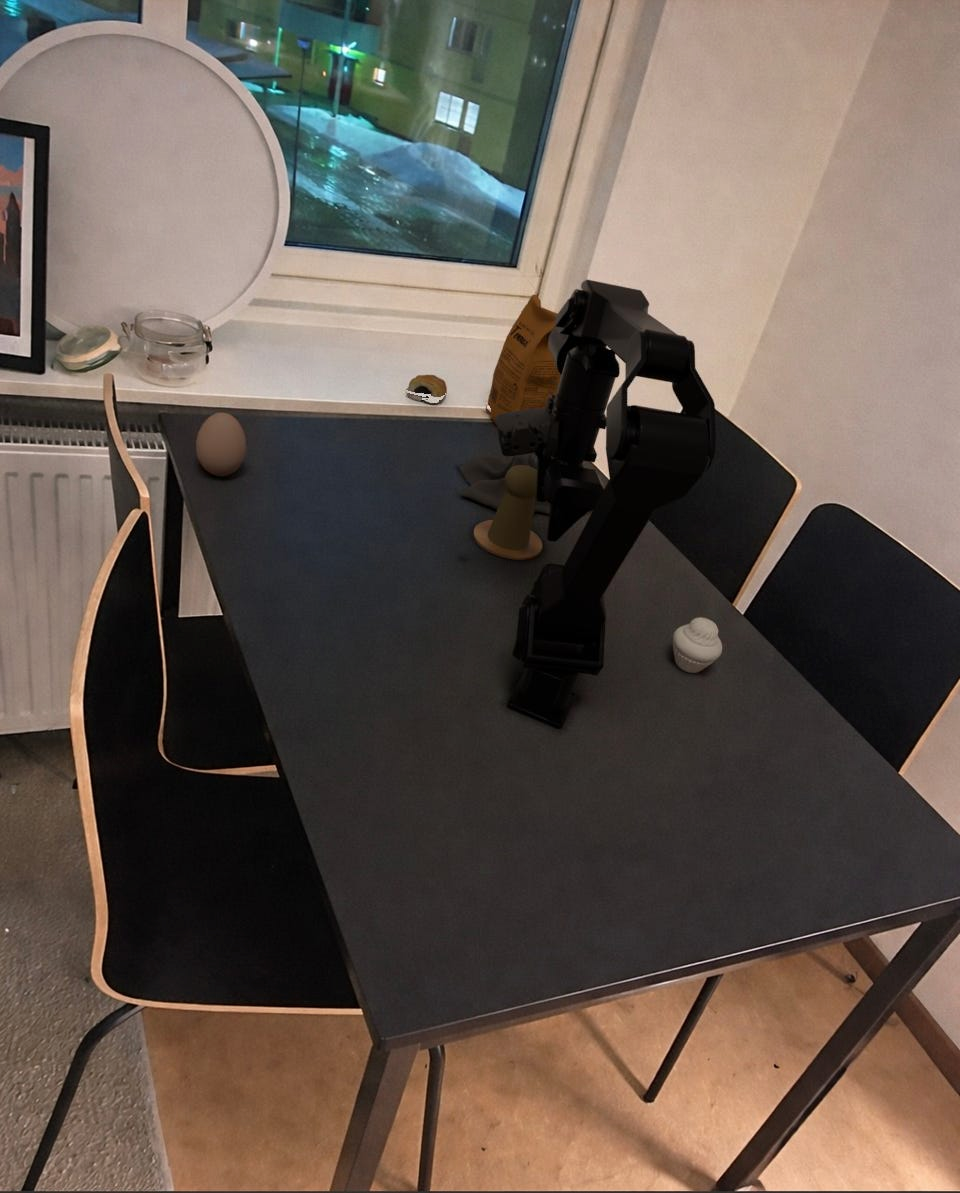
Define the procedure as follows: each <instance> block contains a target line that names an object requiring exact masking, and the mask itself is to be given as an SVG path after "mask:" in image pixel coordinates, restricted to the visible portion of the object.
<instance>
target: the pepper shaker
mask: <svg viewBox="0 0 960 1193" xmlns="http://www.w3.org/2000/svg"><path fill="white" fill-rule="evenodd" d="M505 486H506V490H505V493H504V495H503V498H502V500H501V502H500V505H499V507H498V510H496V512H495V515H494V517H493V519H492V520H493V522H492V524H491V526H490V529H489V531H488V538H489V540H490V541H491V542H492V543H493V544H495V545H497V546H499V547H501V548H504V549H508V550H523V549H525V548H527V546H528V545H529V539H530V531H532V523H533V517H534V516H533V515H534V514H533V509H534V502H535V496H536V491H537V470H536V469H534V468H532V467H529V466H525V465H516V466H513V467H511V468H510V469H509V470H508V471H507V473H506V476H505Z"/></svg>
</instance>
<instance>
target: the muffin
mask: <svg viewBox="0 0 960 1193" xmlns="http://www.w3.org/2000/svg"><path fill="white" fill-rule="evenodd" d="M672 650H673V655H674V662H675V664H676V666H677V667H678V668H679V669H680V670H682V671H684V672H687V673H690V674H696V673H700V672H701V671H703V670H704V669H705V668H706V669H707V667H709V666H710V665H712V664H713V663H715V661H716V660H717V659H719V658H720V656H721V655H722V652H723V643H722V641H721V638H720V637H719V628H718V625H717V624H716V623H715V622H714V621H713V620H710V619H709V618H706V617H701V616H699V617H694V618H693V619H692V620H690V623H687V624H684V625H681V626H679V627H678V628H677V629H676V630H675V631H674V633H673V636H672Z"/></svg>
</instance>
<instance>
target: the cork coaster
mask: <svg viewBox="0 0 960 1193" xmlns="http://www.w3.org/2000/svg"><path fill="white" fill-rule="evenodd" d="M492 522H493V519H487V520H484V521H481V522H479V523H477V524H476V525H475V527H474V529H473V533H472V534H473V538H474V540H475V542H476V543H477V544H478V546H480V548H482V549H483V550H485V551H486V552H488V553H490V554H492V555H494V556H497V557H500V558H503V559H508V560H516V561H524V560H525V561H526V560H530V559H533V558H536V557H537V556H539V555H540V554H541V552H542V550H543V542H542V539H541V538H540V537H539V536H538V535H537V533H536V532H534V531H533V530H531V531H530V539H529V545H528V546H527V548H525V549H523V550H508V549H504V548H501V547H499V546H497V545H495V544H493V543H492V542H491V541H490V540H489V538H488V531H489V529H490V526H491V524H492Z"/></svg>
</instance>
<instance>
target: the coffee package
mask: <svg viewBox="0 0 960 1193" xmlns="http://www.w3.org/2000/svg"><path fill="white" fill-rule="evenodd" d="M558 313H559V312H555V311H552V310H550V309H548V308H545V307H542V302H541V299H540V298H539V296H538V294H532V295H531V296H530V297H529V299H528V301H527V303H526V304H525V305H524V307H523V309H522V310H521V312H520V314H519V315H518V317H517V319H516V320H515V321H514V323H513V325H512V326H511V328H510V330H509V332H508V334H507V335H506V337H505V341H504V343H503V344H502V345H503V346H502V349H501V351H500V354H499V357H498V360H497V363H496V365H495V368H494V370H493V373H492V374H493V375H492V381H491V387H490V391H489V395H488V400H487V403H488V405H489V406H490V408H491V412H490V411H489V410H488V409H487V406H486V407H485V412H486V413H488V415H490V416H491V417H492V419H493V423H494V425H496V426H497V420H496V417H497V416H498V415H499V414H502V413H507V412H513V411H519V410H526V409H541V408H545V406H546V402H547V399H548V398H551V395H556V393H557V390H558V386H559V383H560V379H561V374H560V373H559V371H558V369H557V367H556V364H555V362H554V360H553V357H552V355H551V353H550V350H549V345H548V341H549V336H550V333H551V332H552V331H553V329H554V328H555V327H556V326H555V324H556V316H557V314H558Z"/></svg>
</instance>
